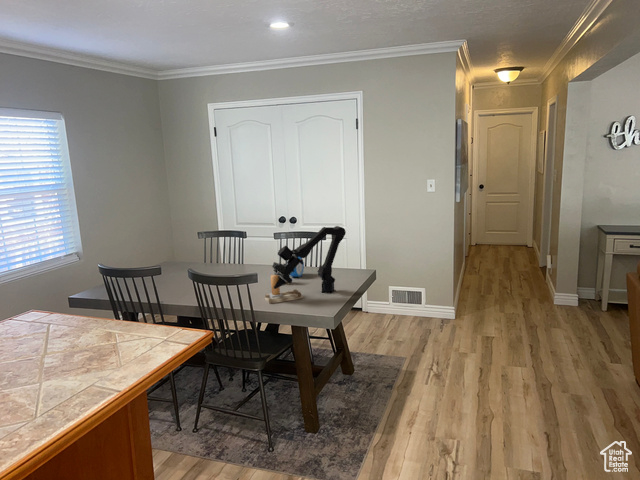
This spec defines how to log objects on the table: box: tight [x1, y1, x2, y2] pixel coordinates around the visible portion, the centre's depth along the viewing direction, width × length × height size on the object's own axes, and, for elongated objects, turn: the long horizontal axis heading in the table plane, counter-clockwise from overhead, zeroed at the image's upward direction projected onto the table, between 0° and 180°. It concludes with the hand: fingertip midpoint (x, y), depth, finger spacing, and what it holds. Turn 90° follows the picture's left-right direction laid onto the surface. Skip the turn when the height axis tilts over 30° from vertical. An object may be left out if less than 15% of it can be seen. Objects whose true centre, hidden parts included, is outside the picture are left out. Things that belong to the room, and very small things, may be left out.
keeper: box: [268, 274, 283, 298], centre depth 261 cm, size 6×6×12 cm
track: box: [264, 289, 304, 304], centre depth 263 cm, size 20×9×3 cm, turn 111°
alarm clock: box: [289, 254, 305, 278], centre depth 310 cm, size 13×6×15 cm, turn 157°
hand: (273, 287), depth 260 cm, fingers closed on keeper, 4 cm apart
